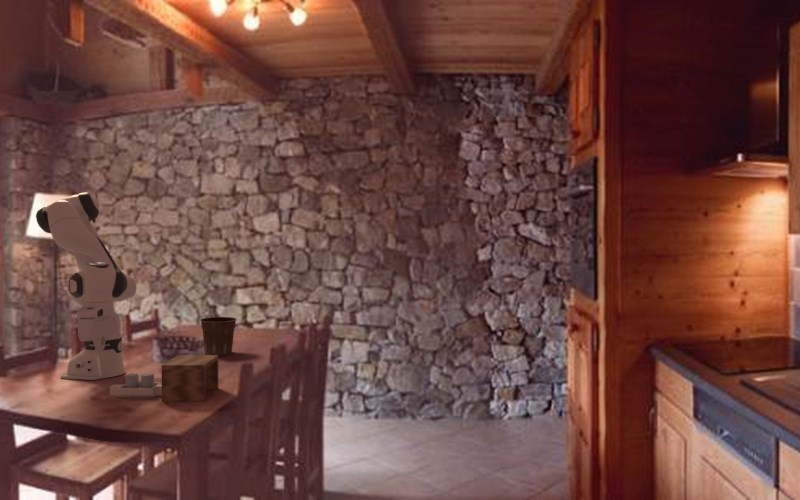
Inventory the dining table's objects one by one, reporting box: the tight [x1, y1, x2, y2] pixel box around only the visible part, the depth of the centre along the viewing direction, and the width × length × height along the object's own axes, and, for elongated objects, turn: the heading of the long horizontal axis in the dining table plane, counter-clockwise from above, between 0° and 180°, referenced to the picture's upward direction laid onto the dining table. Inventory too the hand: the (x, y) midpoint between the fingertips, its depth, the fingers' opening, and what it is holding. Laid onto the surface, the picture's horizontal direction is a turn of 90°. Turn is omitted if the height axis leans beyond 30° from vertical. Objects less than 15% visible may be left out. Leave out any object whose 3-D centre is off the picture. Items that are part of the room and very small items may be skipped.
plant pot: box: [199, 316, 238, 357], centre depth 263 cm, size 16×16×16 cm
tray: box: [109, 373, 162, 399], centre depth 195 cm, size 19×8×7 cm, turn 92°
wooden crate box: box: [161, 354, 220, 402], centre depth 196 cm, size 14×16×12 cm
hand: (99, 350), depth 194 cm, fingers closed
